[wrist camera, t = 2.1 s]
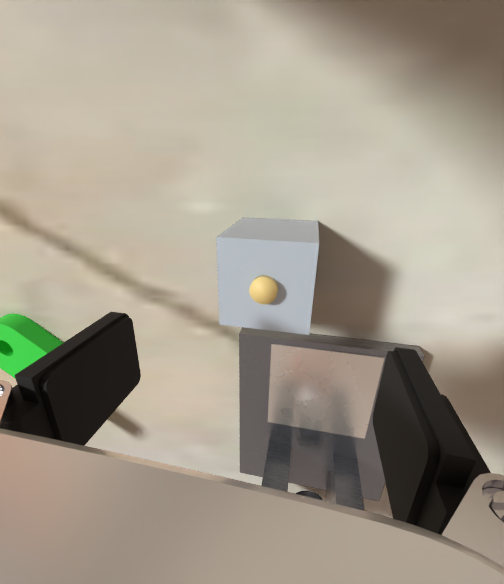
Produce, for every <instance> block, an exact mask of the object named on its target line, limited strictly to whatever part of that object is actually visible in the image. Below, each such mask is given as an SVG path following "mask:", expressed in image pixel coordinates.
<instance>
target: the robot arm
mask: <svg viewBox="0 0 504 584" xmlns="http://www.w3.org/2000/svg"><path fill="white" fill-rule="evenodd" d="M15 378H16V381H17V384H18V385H16V386H15V387H13V388H12V386H11V384H10V383H9V382H6V381H0V584H504V476H503V475H500V474H493V473H491V472H490V471H489V469H488V467H487V465H486V464H485V462H484V460H483V458H482V457H481V455H480V453H479V452H478V450H477V448H476V446H475V445H474V443H473V441H472V439H471V438H470V436H469V434H468V433H467V431H466V429H465V427H464V426H463V424H462V422H461V420H460V419H459V417H458V415H457V414H456V412H455V410H454V408H453V407H452V405H451V403H450V401H449V400H448V399H447V397H446V396H444V395H441V394H440V393H439V391H438V389H437V387H436V386H435V384H434V382H433V380H432V378H431V377H430V375H429V373H428V371H427V369H426V368H425V366H424V364H423V362H422V361H421V359H420V357H419V355H418V353H417V352H416V350H414V349H407V348H399V347H395V348H394V350H393V351H388V352H387V355H386V360H385V364H384V368H383V373H382V377H381V381H380V385H379V390H378V394H377V398H376V403H375V407H374V411H373V427H374V432H375V436H376V441H377V445H378V450H379V455H380V459H381V464H382V468H383V473H384V478H385V482H386V487H387V491H388V496H389V500H390V505H391V510H392V514H393V519H392V518H389V517H385V516H382V515H379V514H375V513H371V512H367V511H363V510H359V509H355V508H351V507H347V506H343V505H339V504H335V503H331V502H327V501H323V500H319V499H315V498H311V497H307V496H302V495H298V494H294V493H290V492H285V491H281V490H277V489H272V488H268V487H264V486H259V485H255V484H251V483H246V482H242V481H238V480H234V479H229V478H225V477H221V476H216V475H212V474H207V473H203V472H199V471H194V470H190V469H185V468H181V467H177V466H172V465H168V464H163V463H159V462H154V461H150V460H146V459H141V458H137V457H132V456H128V455H123V454H119V453H114V452H110V451H105V450H101V449H96V448H91V447H87V446H84V445H85V444H86V443H87V442H88V441H89V440H90V438H91V437H92V436H93V435H94V434H95V433H96V432H97V430H98V429H99V428H100V427H101V426H102V425H103V423H104V422H105V421H106V420H107V419H108V418H109V417H110V415H111V414H112V413H113V412H114V411H115V410H116V408H117V407H118V406H119V405H120V404H121V403H122V402H123V400H124V399H125V398H126V397H127V396H128V395H129V393H130V392H131V391H132V390H133V389H134V388H135V387H136V385H137V384H138V383H139V381H140V368H139V361H138V355H137V348H136V342H135V335H134V329H133V322H132V319H131V318H129V316H128V315H127V314H125V313H117V312H110V313H108V314H107V315H105V316H104V317H102V318H101V319H99V320H98V321H96V322H95V323H93V324H92V325H90V326H89V327H87V328H85V329H84V330H82V331H81V332H79V333H78V334H76V335H75V336H73V337H72V338H70V339H69V340H67V341H66V342H64V343H63V344H61V345H60V346H58V347H57V348H55V349H53V350H52V351H50V352H49V353H47V354H46V355H44V356H43V357H41V358H40V359H38V360H37V361H35V362H34V363H32V364H31V365H29V366H28V367H26V368H24V369H23V370H21V371H20V372H18V373H17V374H15Z"/></svg>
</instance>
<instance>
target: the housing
mask: <svg viewBox="0 0 504 584" xmlns="http://www.w3.org/2000/svg"><path fill="white" fill-rule="evenodd" d="M216 241H217V268H218V295H219V323H220V325H228V326H237V327H245V328H254V329H262V330H271V331H280V332H288V333H297V334H305V335H309V332H310V323H311V314H312V304H313V295H314V286H315V277H316V268H317V259H318V250H319V229H318V221H309V220H288V219H268V218H247V217H243V218H242V219H240V220H239V221H238V222H236V223H235V224H233V225H232V226H231V227H229V228H228V229H227V230H225V231H224V232H223V233H221V234H220V235H219V236H217V237H216Z"/></svg>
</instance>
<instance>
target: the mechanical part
mask: <svg viewBox="0 0 504 584" xmlns="http://www.w3.org/2000/svg"><path fill="white" fill-rule="evenodd" d="M61 344H63V342H62V341H60V340H59V339H57V338H56V337H55V336H53V335H52V334H50V333H49V332H48V331H46V330H45V329H44V328H42V327H41V326H39V325H38V324H37V323H35V322H34V321H32V320H31V319H29V318H27V317H25V316H22V315H19V314H8V315H5V316H3V317H1V318H0V368H1V369H2V370H4V371H5V372H7V373H8V374H10V375H11V376H13V377H14V378H15V374H17V373H18V372H20V371H21V370H23V369H24V368H26V367H28V366H29V365H31V364H32V363H34V362H35V361H37V360H38V359H40V358H41V357H43V356H44V355H46V354H47V353H49V352H50V351H52V350H53V349H55V348H57V347H58V346H60V345H61Z"/></svg>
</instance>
